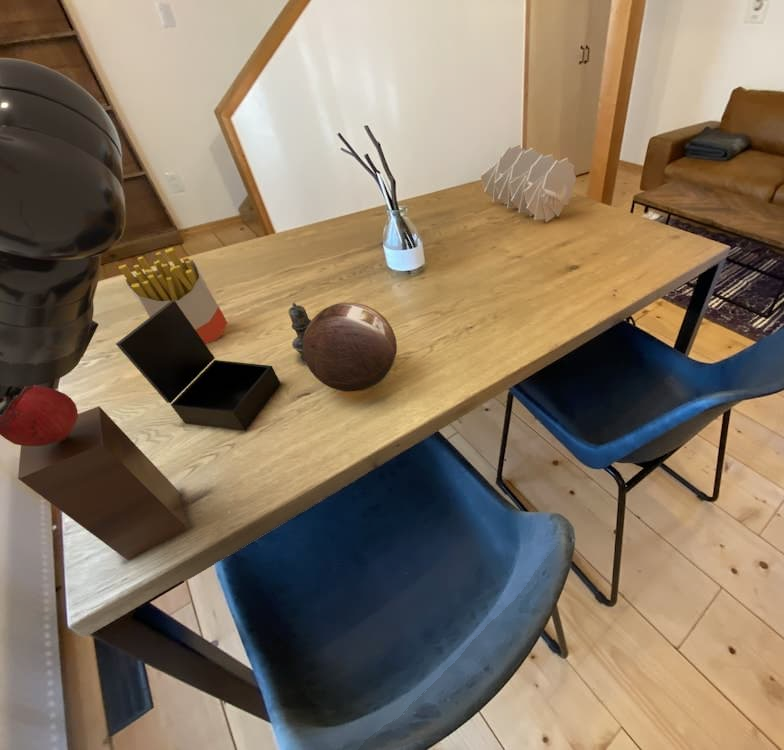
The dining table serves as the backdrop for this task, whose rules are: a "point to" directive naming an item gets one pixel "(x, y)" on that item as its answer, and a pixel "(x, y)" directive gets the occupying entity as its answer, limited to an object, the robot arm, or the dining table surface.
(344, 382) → the wooden sphere
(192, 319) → the french fries container
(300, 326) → the grey chess piece
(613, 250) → the dining table surface
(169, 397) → the box lid
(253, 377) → the box
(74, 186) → the robot arm
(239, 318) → the dining table surface
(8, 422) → the pomegranate
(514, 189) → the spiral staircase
